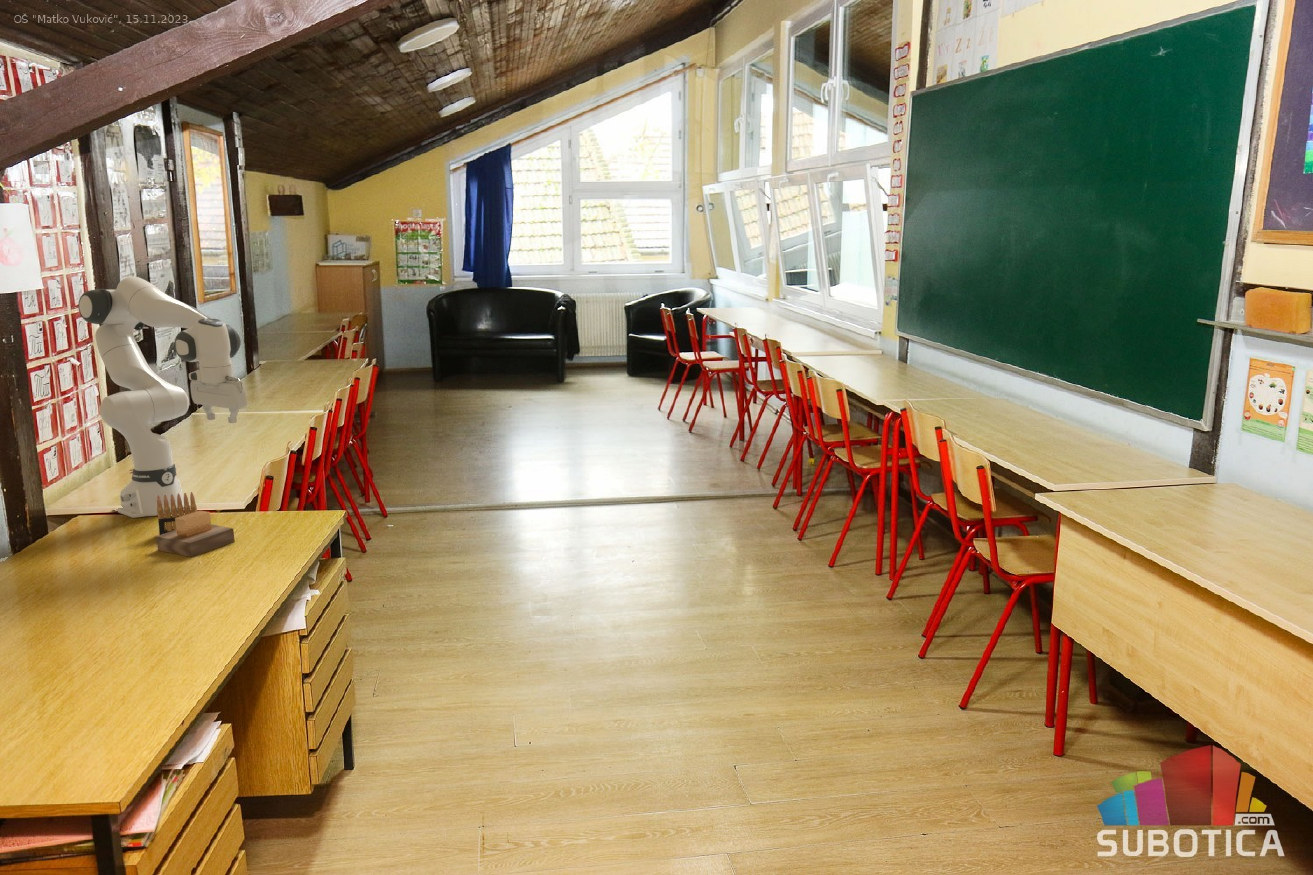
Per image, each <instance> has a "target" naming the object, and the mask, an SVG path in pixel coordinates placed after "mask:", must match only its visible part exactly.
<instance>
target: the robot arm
mask: <svg viewBox="0 0 1313 875" xmlns="http://www.w3.org/2000/svg"><path fill="white" fill-rule="evenodd" d="M77 305H78V306H77V307H78V311H79V314H80V316H81V317H82V319H83V320H84V321H85V322H86V323H91V324H95V325H99V327H98V328H96V331H95V333H94V334H95V335H94V336H95V341H96V346H97V350H98V353H99V355H100V359H101V360H102V363H103V364H104V367H105V369H106V372H107V373H108V375H109V377H110V380H112V382H113V383H114V384H116V385H117V386H120V387H122V388H124V389H125V388H126V389H129V390H125V391H119V392H116V393H113V394H110V395H107V396H105V397H104V398H103V399H102V400H101V402H100V405H99V415H100V417H101V419H102V421H103V422H104V423H105V424H106V425H107V426H108V427H110V428H112V429H115V430H116V431H117V432H118V433H120V434H121V435H122V437H124V438H125V440H126V441H127V443H128V446H129V449H130V452H131V458H132V462H133V469H129V471H130V472H129V474H131V480H130V482H129V483H128V484H126V486H125V487H124V488H122V490H121V491H120V492H119V493H120V494H119V497H120V498H119V499H120V504H121V506H122V507H123V508H118V509H116V510H117V511H118V512H117V513H119V514H122V515H125V516H126V517H129V518H132V519H135V518H136V519H137V518H141V517H142V518H143V517H153V516H158V513H157V496H158V495H159V497H160V499H161V503H162V507H163V511H164V495H166V496H167V499H168V503H169V507H170V512H171V494H173V496H174V499H175V503H176V507H177V506H178V505H177V495H178V493H179V494H180V496H181V500H182V505H183V508H184V493H183V490H182V485H181V480H180V479H179V478H177V468H176V464H175V463H174V460H173V459H174V458H173V457H174V456H173V452H172V445H171V444H172V442H171V441H170V440H169V439H168V438H167V437H166V436H163V435H161V434H158V433H154V432H152V430H151V427H150V426H151V424H155V423H160V422H167V421H172V420H174V419H178V418H179V417H182V416H184V415H186V414H187V412H188V411H189V407H190V399H189V396H188V393H187V392H186V391H185V390H184V389H183V388H181V387H180V386H178V385H175V384H173V383H170V382H168V381H166V380H165V379H163V378H161V377H160V376H159V375H157V373H156V372H154V371H153V369H151V367H150V366H149V364H148V362H147V360H146V358H145V357H144V354H143V352H142V351H141V348H140V346H139V345H138V343H137V341H136V339H135V336H134V330H135V331H141V330H143V329H144V328H145V326H148V327H152V328H182V329H184V330H181V331H179V332H178V333H177V334H176V336H175V338H174V341H173V342H174V344H173V345H174V349H175V350H174V351H175V353H176V355H177V356H178V357H179V358H180V359H181V360H182V361H184V362H189V363H196V362H198V363H199V365H198V367H199V368H198V369H196V370H194V371H192V372H191V371H190V373H188V378H189V380H190V383H189V384H190V394H191V395H190V396H191V399H192V402H193V404H196V405H202V409H203V411H204V413H205V415H206V419H207V420H208V421H213V420H215V419H216V413H214V412H213V409H212V407H215V408H216V407H217V408H223V409H228V411H229V413H230V415H229V416H227V420H228V422H227V423H229V424H236V423H237V417H238V414H239V410H242V409H246V408H247V406H248V398H247V393H246V388H245V385H244V384H243V382H242V381H241V380H240V378H239V377H236V376H235V377H234V370H233V361H232V359H233V358H234V357H235V356H236V354H237V353H238V351H239V350H240V348H241V342H242V341H241V337H240V334H239V333H238V332H237V330H236V329H235V328H233V327H232V326H231V325H229V324H226V322H224V321H223V320H221V319H219V318H212V317H210V316H209V315H207V314H206V313H204V312H203V311H201V310H199V309H198V308H195V307H194V306H192V305H190V304H187V303H185V302H183V301H180V300H178V299H176V298H174V297H172V296H170V295H168V294H167V293H165V292H163V291H162V290H161V289H159V288H158V287H157V286H156V285H155V284H152V283H151V282H149V281H148V280H146V279H144V278H142V277H138V276H133V275H132V276H127V277H124V278H123V279H121V280H120V281H119V282H118V284H117V286H116V288H115V289H106V288H96V289H90V290H87V291H85V292H83V293H82V294H81V296H80V297H79V300H78V304H77ZM177 512H178V510H177Z"/></svg>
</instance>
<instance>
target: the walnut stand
mask: <svg viewBox="0 0 1313 875" xmlns="http://www.w3.org/2000/svg"><path fill="white" fill-rule="evenodd" d="M211 527H212V529H211V530H208V531H205V532H202V533H199V534H196V535H193V536H190V537H182V536H177V530H174V531H171V532H168V533H165V534H162V535H160V534H159V535H156V536H155V540H156V547H157V550H158V551H161V552H166V553H170V554H175V555H179V556H185V557H189V558H193V557H196V556H199V555H202V554H204V553H207V552H210V551H213V550H216V549H219V548H221V547H223V546H226V545H229V544H232V543H235V542H236V540H235V532H234V527H229V526H222V525H217V524H212V523H211Z"/></svg>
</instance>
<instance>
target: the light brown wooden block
mask: <svg viewBox="0 0 1313 875" xmlns="http://www.w3.org/2000/svg"><path fill="white" fill-rule="evenodd" d="M175 522H176V530H177V536H182V537H190V536H193V535H196V534H199V533H202V532H205V531H208V530H211V529H212V527H211V524H212V519H211V512H210V511H206V510H205V511H204V510H197V512H194V513H190V514H187V515H185V514H184V516H181V517H177V518H175Z"/></svg>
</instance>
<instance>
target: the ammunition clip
mask: <svg viewBox="0 0 1313 875" xmlns="http://www.w3.org/2000/svg"><path fill="white" fill-rule="evenodd" d="M183 498H184V508H183V505H182V500H181V496H180V494H179V493H178V495H177V505H178V506H177V507H176V503H175V499H174V496H173V494H171V512H170V507H169V503H168V499H167V496H166V495H164V511H163V507H162V503H161V499H160V497H159V495H158V496H157V513H158V515H157V518H158V519H157V520H158V531H159V532H158V533H159V535H162V534H165V533H168V532H171V531H174V530H176V522H175V518H177V517H181V516H184V515H187V514H190V513H194V512H197V511H198V508H197V504H196V500H195V495H194V493H193V491H191V492H190V497H188V495H187V493H186V492H184V493H183ZM189 499H190V500H189ZM189 501H190V502H189ZM177 510H178V511H177Z"/></svg>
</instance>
